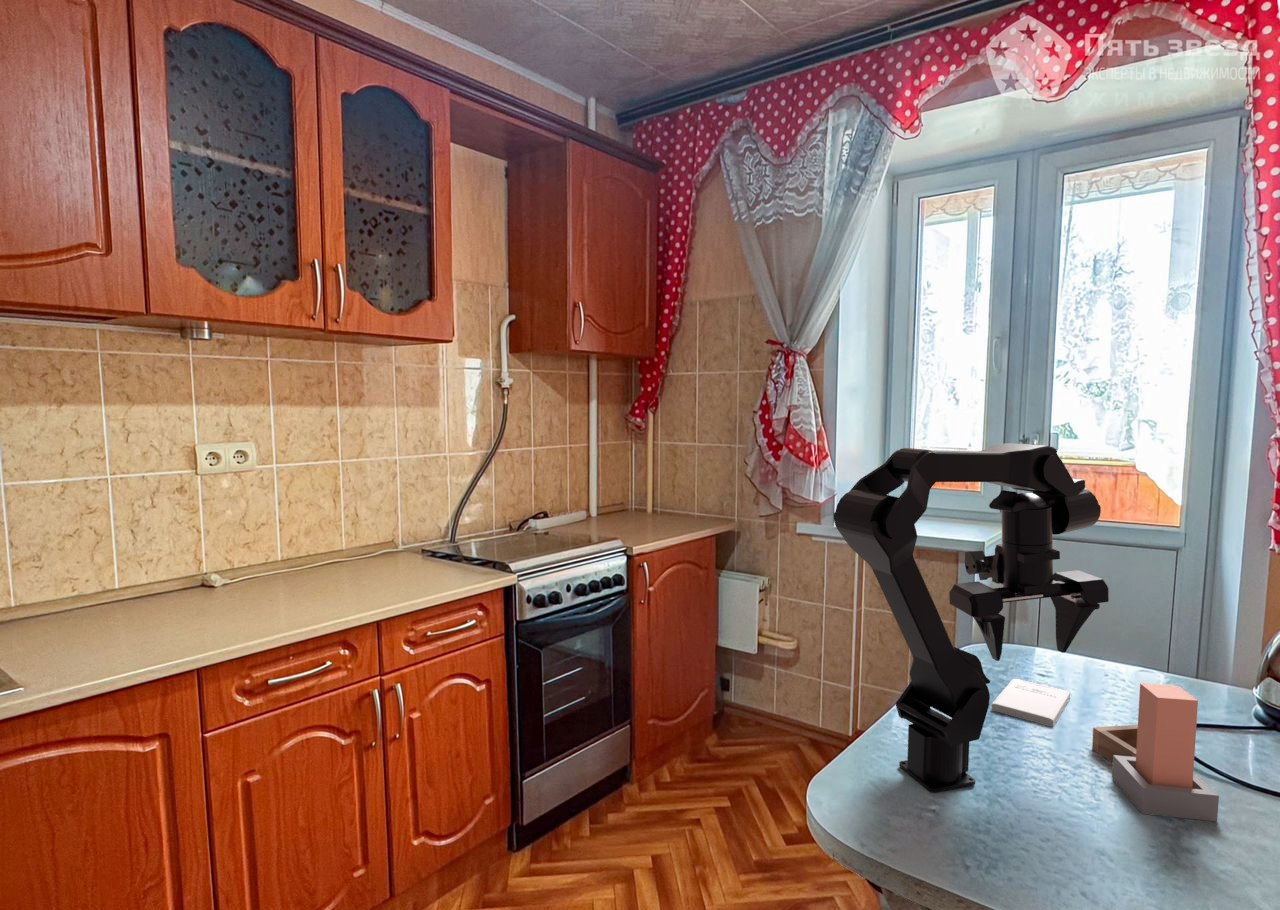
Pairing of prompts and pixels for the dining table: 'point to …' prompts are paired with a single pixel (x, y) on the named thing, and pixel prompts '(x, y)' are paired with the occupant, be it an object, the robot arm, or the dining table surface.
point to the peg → (1166, 735)
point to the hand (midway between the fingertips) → (1028, 655)
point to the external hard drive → (1032, 701)
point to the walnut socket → (1115, 741)
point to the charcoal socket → (1165, 794)
